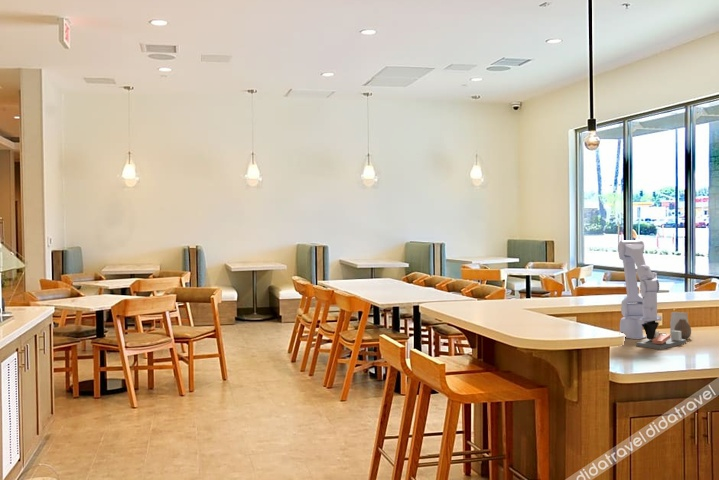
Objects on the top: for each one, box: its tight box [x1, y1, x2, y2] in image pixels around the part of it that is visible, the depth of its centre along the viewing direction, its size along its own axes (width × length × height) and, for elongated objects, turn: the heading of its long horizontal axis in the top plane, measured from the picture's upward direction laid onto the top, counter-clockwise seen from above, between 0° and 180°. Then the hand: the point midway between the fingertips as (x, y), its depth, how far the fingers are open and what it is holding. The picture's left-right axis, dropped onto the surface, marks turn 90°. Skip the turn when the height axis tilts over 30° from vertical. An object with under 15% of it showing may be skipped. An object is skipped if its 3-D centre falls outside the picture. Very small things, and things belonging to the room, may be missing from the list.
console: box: [635, 338, 687, 350], centre depth 300 cm, size 11×20×2 cm, turn 127°
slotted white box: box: [670, 330, 682, 341], centre depth 300 cm, size 3×2×4 cm
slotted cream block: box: [648, 330, 660, 340], centre depth 302 cm, size 3×2×4 cm
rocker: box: [652, 333, 671, 344], centre depth 294 cm, size 4×7×2 cm, turn 127°
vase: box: [674, 319, 692, 340], centre depth 312 cm, size 7×7×9 cm
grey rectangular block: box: [669, 311, 689, 334], centre depth 323 cm, size 4×7×10 cm, turn 48°
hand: (650, 339), depth 300 cm, fingers closed
